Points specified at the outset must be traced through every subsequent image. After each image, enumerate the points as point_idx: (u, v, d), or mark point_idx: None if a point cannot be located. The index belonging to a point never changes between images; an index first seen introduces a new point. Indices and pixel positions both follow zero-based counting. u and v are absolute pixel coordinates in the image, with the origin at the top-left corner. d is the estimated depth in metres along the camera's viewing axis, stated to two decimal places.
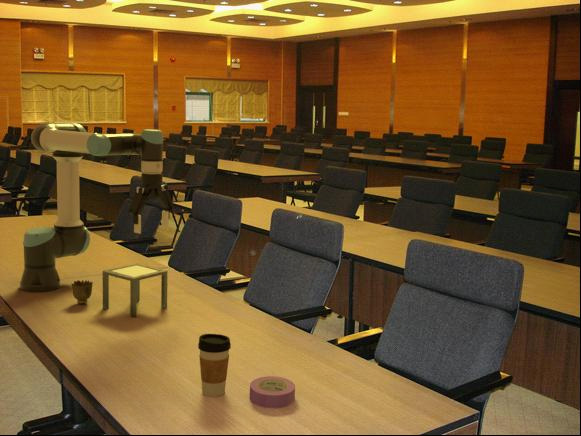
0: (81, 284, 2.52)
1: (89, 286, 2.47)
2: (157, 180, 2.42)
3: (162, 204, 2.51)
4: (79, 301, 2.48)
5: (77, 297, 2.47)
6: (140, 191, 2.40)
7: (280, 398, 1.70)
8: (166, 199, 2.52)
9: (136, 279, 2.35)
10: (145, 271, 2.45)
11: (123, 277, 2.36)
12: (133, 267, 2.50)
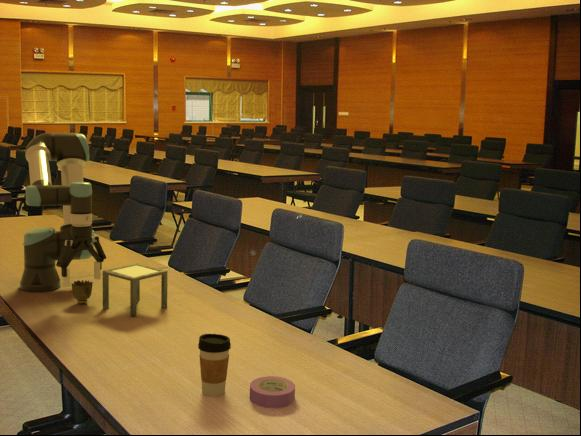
0: (81, 284, 2.52)
1: (89, 286, 2.47)
2: (86, 233, 2.43)
3: (93, 255, 2.51)
4: (79, 301, 2.48)
5: (77, 297, 2.47)
6: (68, 244, 2.40)
7: (280, 398, 1.70)
8: (98, 250, 2.53)
9: (136, 279, 2.35)
10: (145, 271, 2.45)
11: (123, 277, 2.36)
12: (133, 267, 2.50)
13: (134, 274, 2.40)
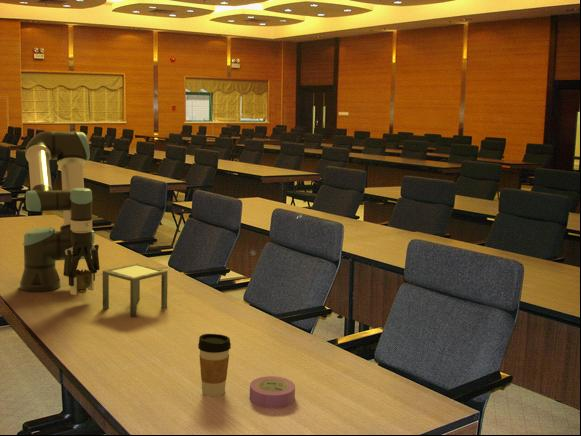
0: (80, 273, 2.52)
1: (88, 275, 2.47)
2: (86, 239, 2.44)
3: (88, 264, 2.51)
4: (78, 290, 2.48)
5: None
6: (69, 254, 2.42)
7: (280, 398, 1.70)
8: (93, 259, 2.52)
9: (136, 279, 2.35)
10: (145, 271, 2.45)
11: (123, 277, 2.36)
12: (133, 267, 2.50)
13: (134, 274, 2.40)
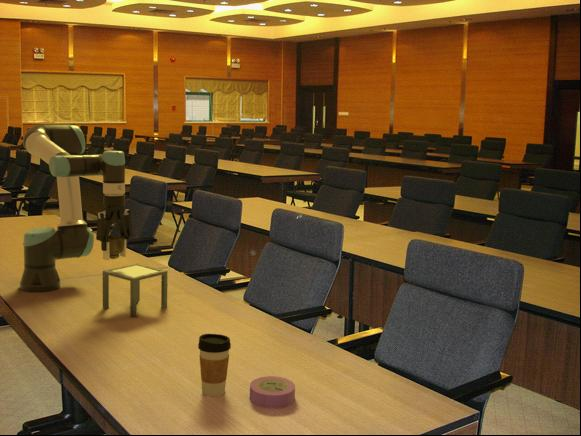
0: (113, 239, 2.46)
1: (121, 240, 2.41)
2: (119, 202, 2.38)
3: (121, 229, 2.45)
4: (111, 255, 2.42)
5: (109, 251, 2.41)
6: (102, 217, 2.36)
7: (280, 398, 1.70)
8: (126, 225, 2.47)
9: (136, 279, 2.35)
10: (145, 271, 2.45)
11: (123, 277, 2.36)
12: (133, 267, 2.50)
13: (134, 274, 2.40)
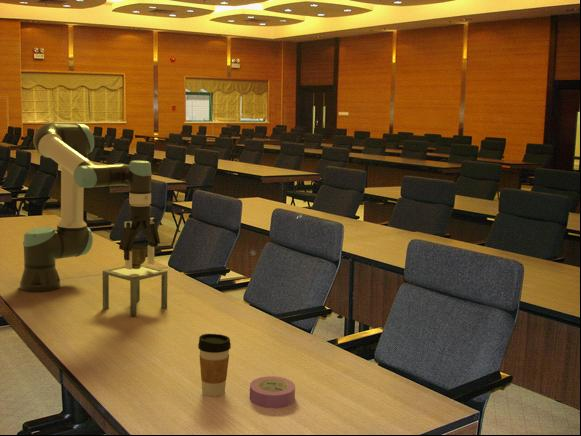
0: None
1: (144, 250, 2.39)
2: (146, 213, 2.37)
3: (148, 238, 2.45)
4: (133, 265, 2.40)
5: None
6: (128, 226, 2.35)
7: (280, 398, 1.70)
8: (153, 233, 2.46)
9: (136, 279, 2.35)
10: (145, 271, 2.45)
11: (123, 277, 2.36)
12: None
13: (134, 274, 2.40)
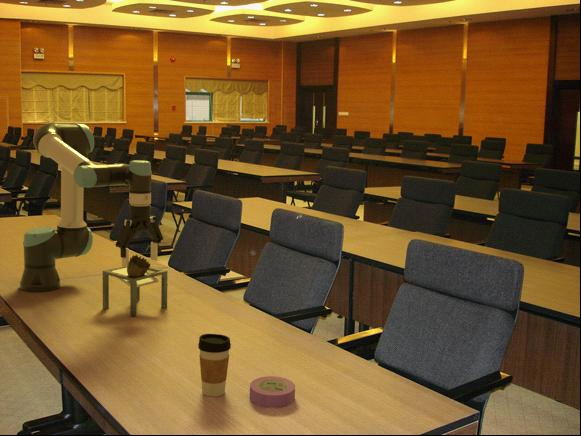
0: (137, 259, 2.41)
1: (146, 269, 2.37)
2: (146, 213, 2.37)
3: (151, 236, 2.46)
4: None
5: (130, 274, 2.37)
6: (128, 224, 2.34)
7: (280, 398, 1.70)
8: (155, 230, 2.47)
9: (136, 279, 2.35)
10: None
11: (123, 277, 2.36)
12: None
13: None
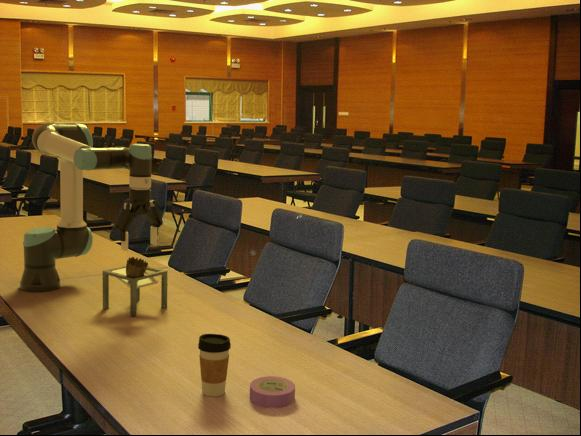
0: (135, 261, 2.42)
1: (145, 268, 2.37)
2: (145, 196, 2.36)
3: (150, 220, 2.45)
4: None
5: None
6: (128, 208, 2.34)
7: (280, 398, 1.70)
8: (155, 215, 2.46)
9: (136, 279, 2.35)
10: (144, 279, 2.45)
11: (123, 277, 2.36)
12: None
13: None
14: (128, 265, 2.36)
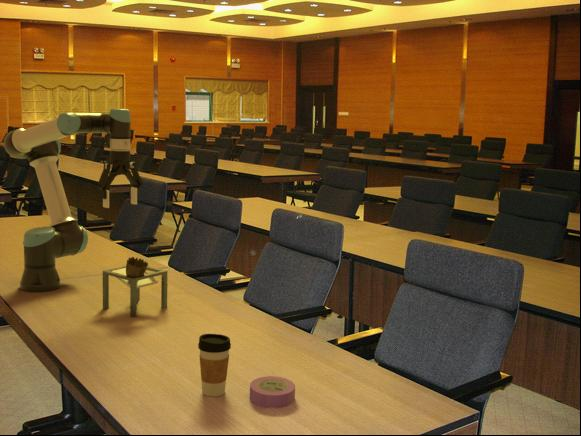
0: (134, 261, 2.42)
1: (145, 268, 2.37)
2: (125, 157, 2.53)
3: (131, 181, 2.62)
4: None
5: None
6: (108, 167, 2.51)
7: (280, 398, 1.70)
8: (135, 176, 2.63)
9: (136, 279, 2.35)
10: (144, 279, 2.45)
11: (123, 277, 2.36)
12: None
13: None
14: (128, 265, 2.36)
